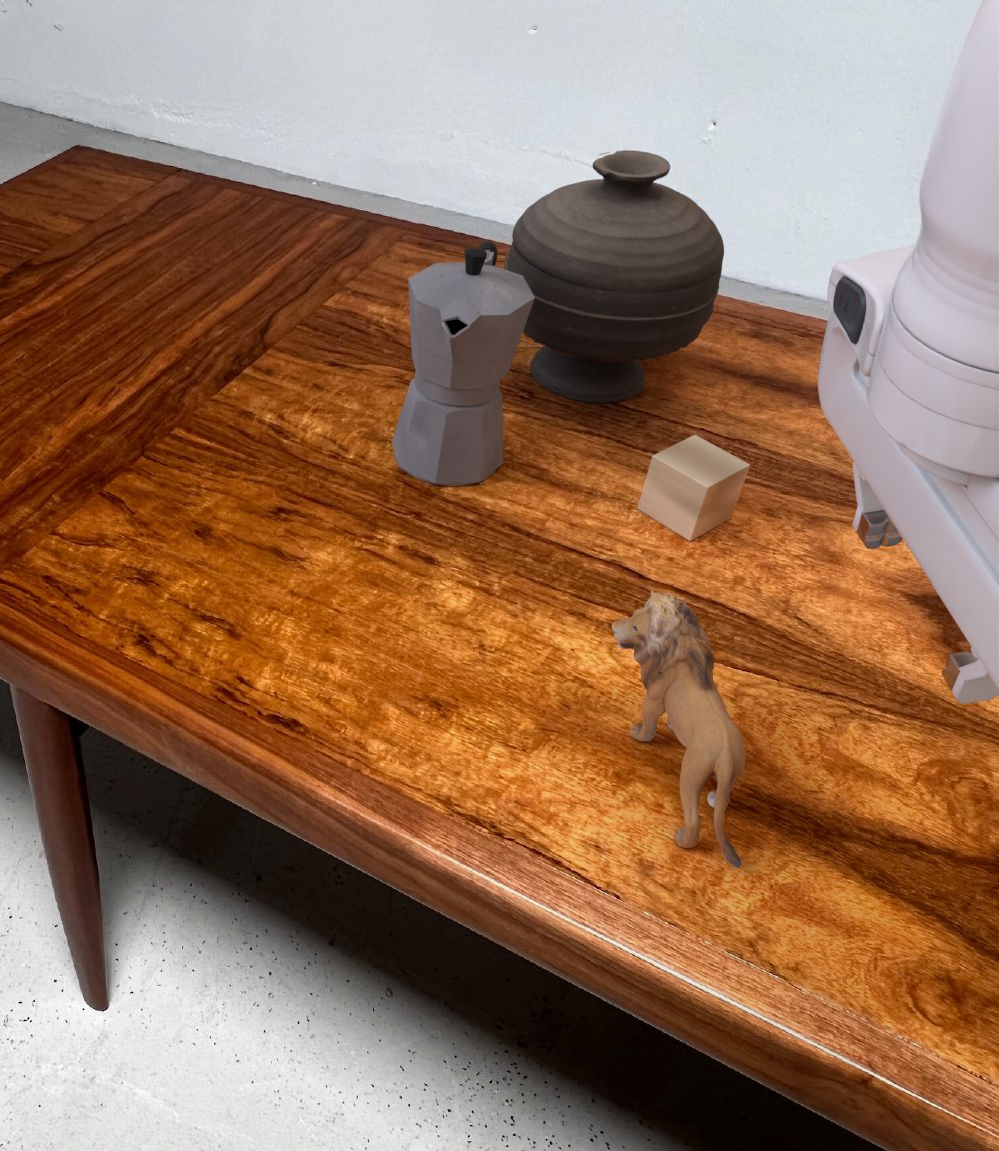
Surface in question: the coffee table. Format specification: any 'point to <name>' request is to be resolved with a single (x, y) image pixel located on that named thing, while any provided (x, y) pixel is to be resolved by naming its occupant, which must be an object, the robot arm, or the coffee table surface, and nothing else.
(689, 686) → the lion figurine
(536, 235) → the pot
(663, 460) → the beige block
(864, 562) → the coffee table surface
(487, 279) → the coffeepot
